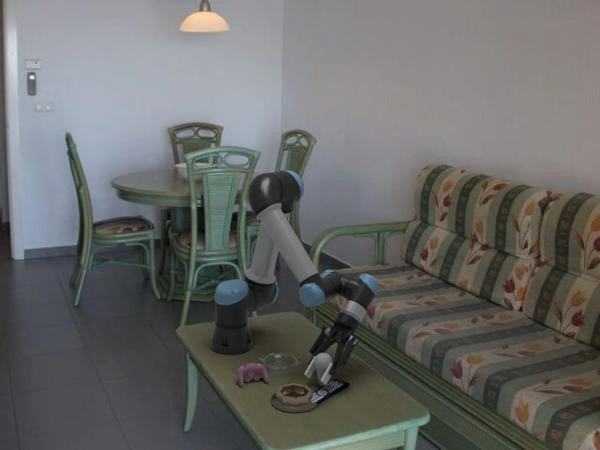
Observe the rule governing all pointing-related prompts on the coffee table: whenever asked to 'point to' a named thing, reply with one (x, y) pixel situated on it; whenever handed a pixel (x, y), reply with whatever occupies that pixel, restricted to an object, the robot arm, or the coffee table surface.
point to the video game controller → (250, 368)
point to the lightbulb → (321, 365)
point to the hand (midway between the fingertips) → (315, 379)
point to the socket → (293, 398)
